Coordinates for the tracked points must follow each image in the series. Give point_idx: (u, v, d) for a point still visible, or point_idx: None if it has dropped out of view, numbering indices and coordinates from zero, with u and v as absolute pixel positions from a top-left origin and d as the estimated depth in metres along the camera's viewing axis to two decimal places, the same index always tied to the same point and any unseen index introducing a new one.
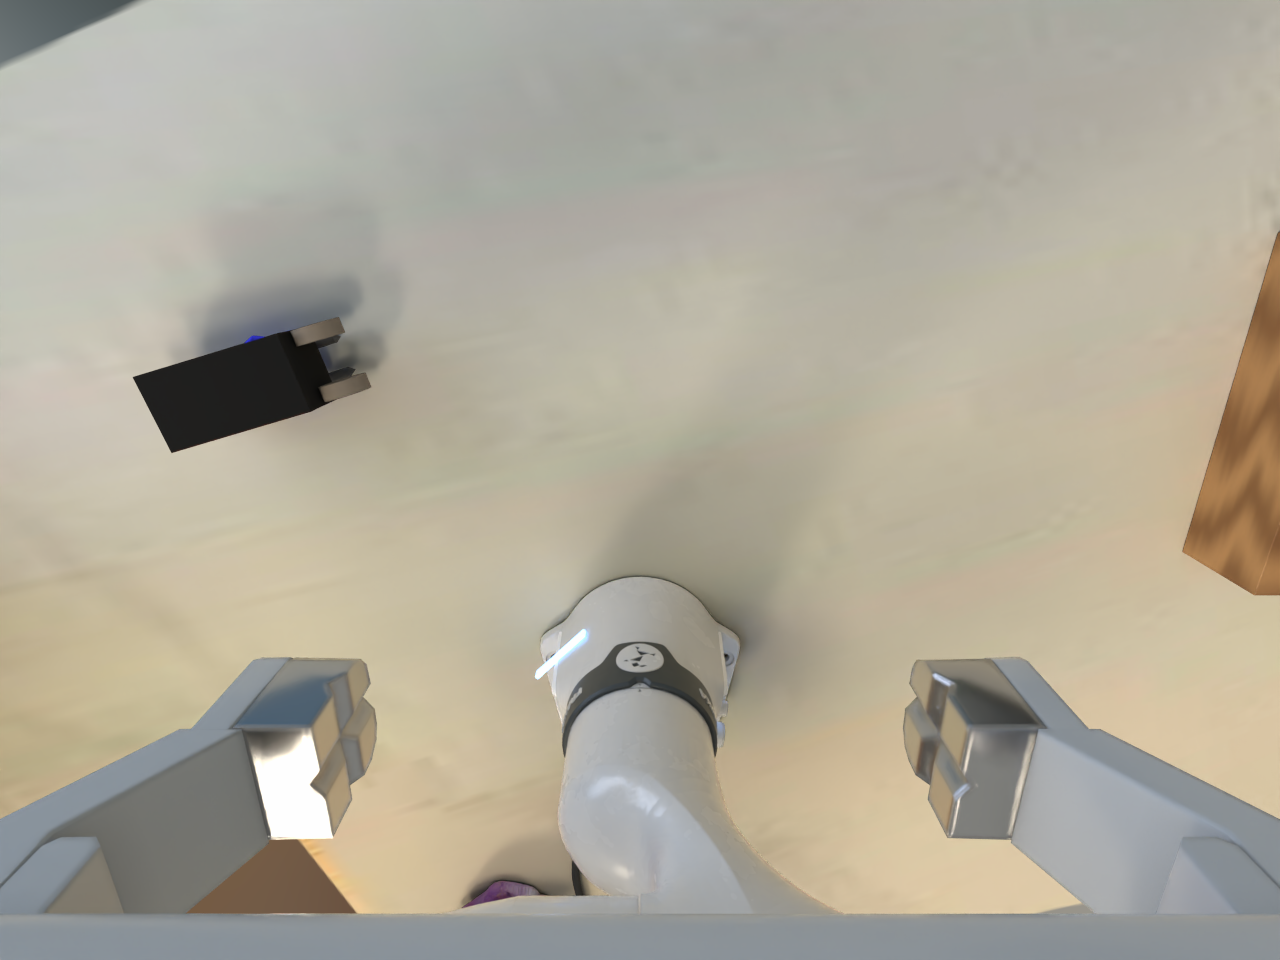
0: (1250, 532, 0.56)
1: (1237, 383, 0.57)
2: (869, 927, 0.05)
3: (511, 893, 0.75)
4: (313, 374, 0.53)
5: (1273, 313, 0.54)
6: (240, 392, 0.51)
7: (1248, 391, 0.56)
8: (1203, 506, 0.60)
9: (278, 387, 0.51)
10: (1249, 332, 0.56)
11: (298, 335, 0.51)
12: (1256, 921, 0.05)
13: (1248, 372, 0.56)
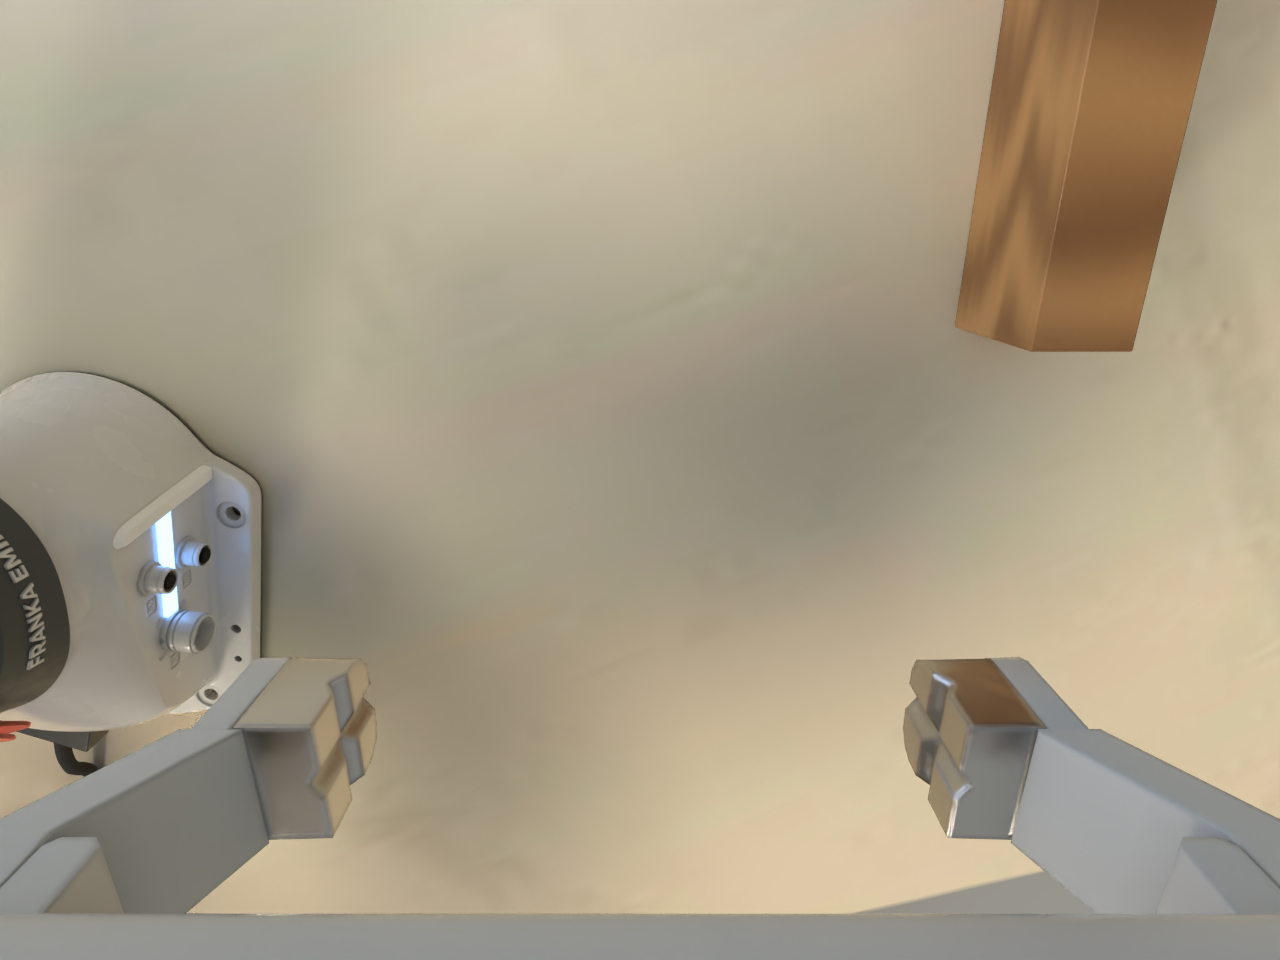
0: (1026, 239, 0.31)
1: None
2: (869, 927, 0.05)
3: None
4: None
5: None
6: None
7: None
8: (975, 235, 0.35)
9: None
10: None
11: None
12: (1256, 921, 0.05)
13: None
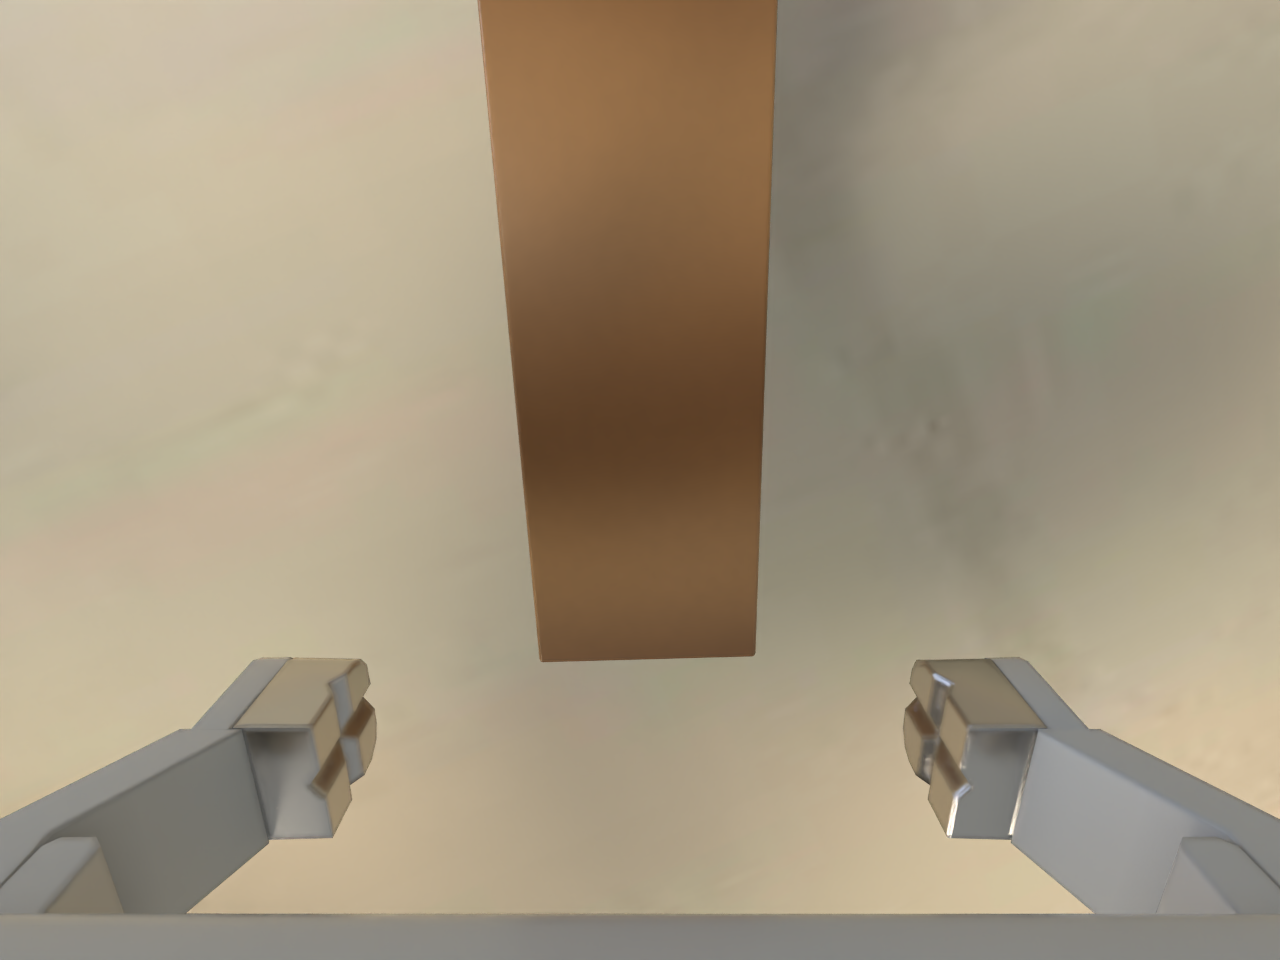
0: None
1: None
2: (869, 927, 0.05)
3: None
4: None
5: None
6: None
7: None
8: None
9: None
10: None
11: None
12: (1256, 921, 0.05)
13: None
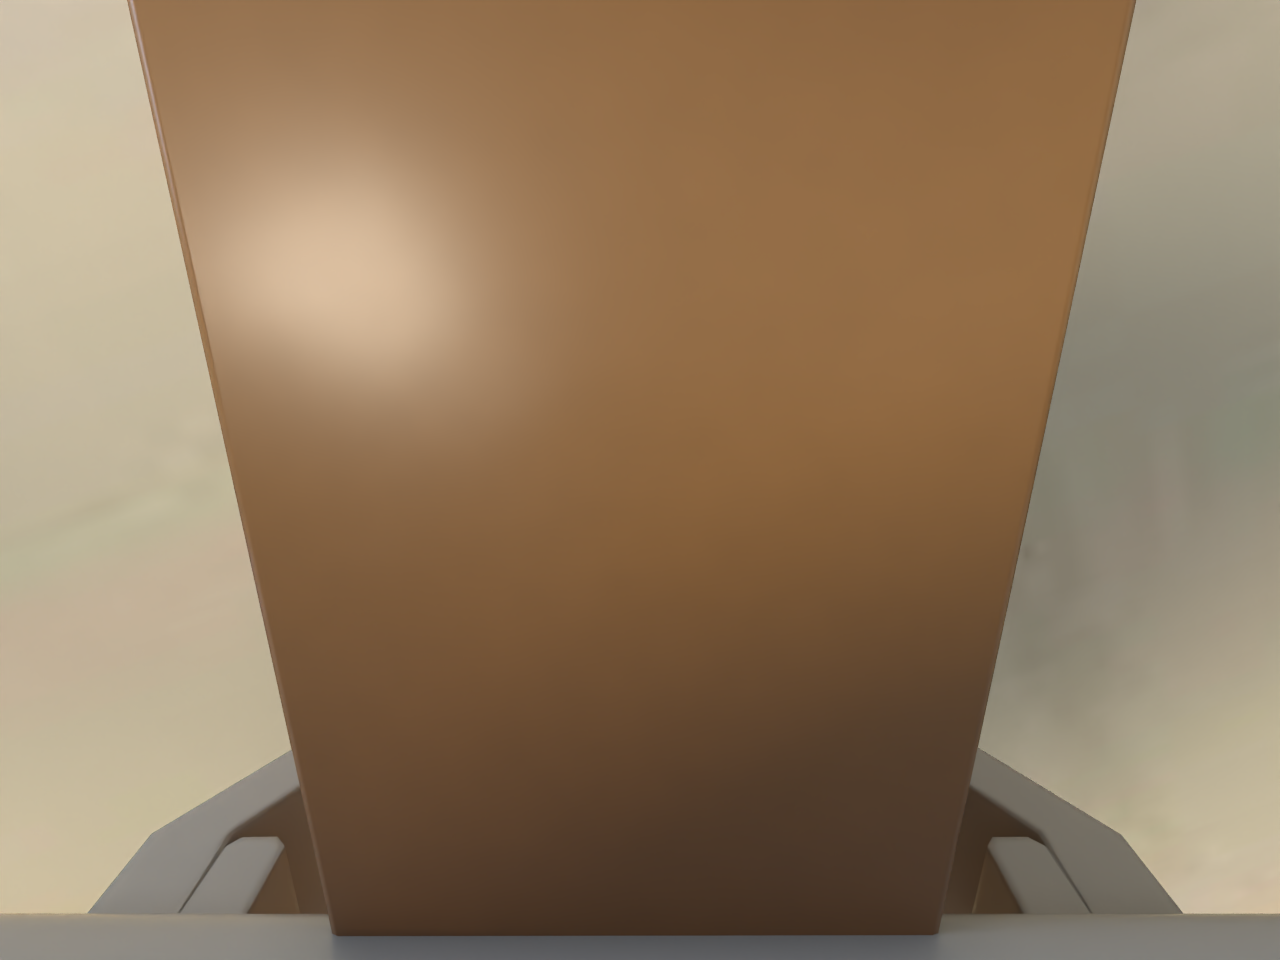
0: None
1: None
2: None
3: None
4: None
5: None
6: None
7: None
8: None
9: None
10: None
11: None
12: (1256, 921, 0.05)
13: None
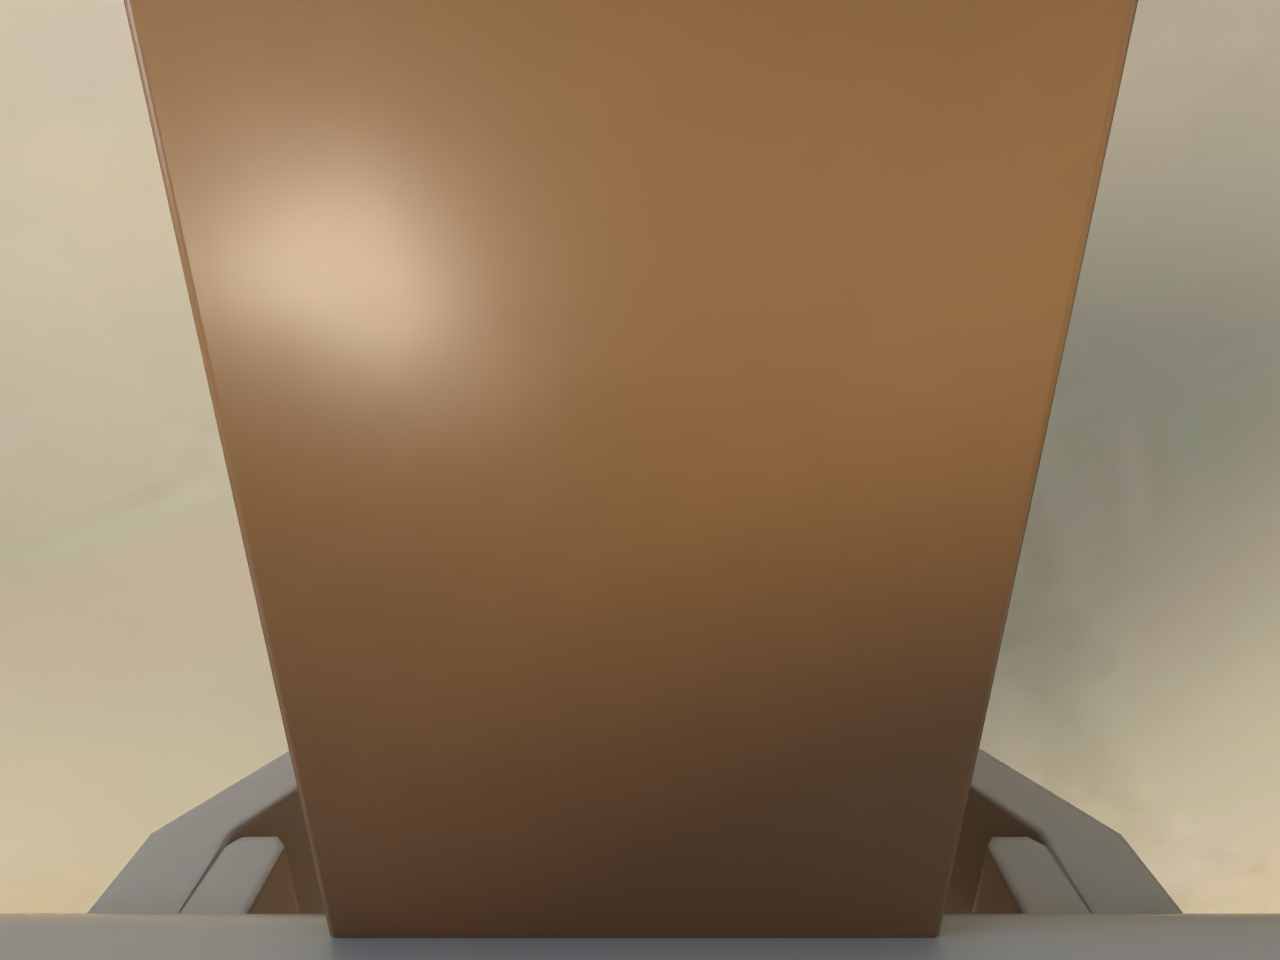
0: None
1: None
2: None
3: None
4: None
5: None
6: None
7: None
8: None
9: None
10: None
11: None
12: (1256, 921, 0.05)
13: None
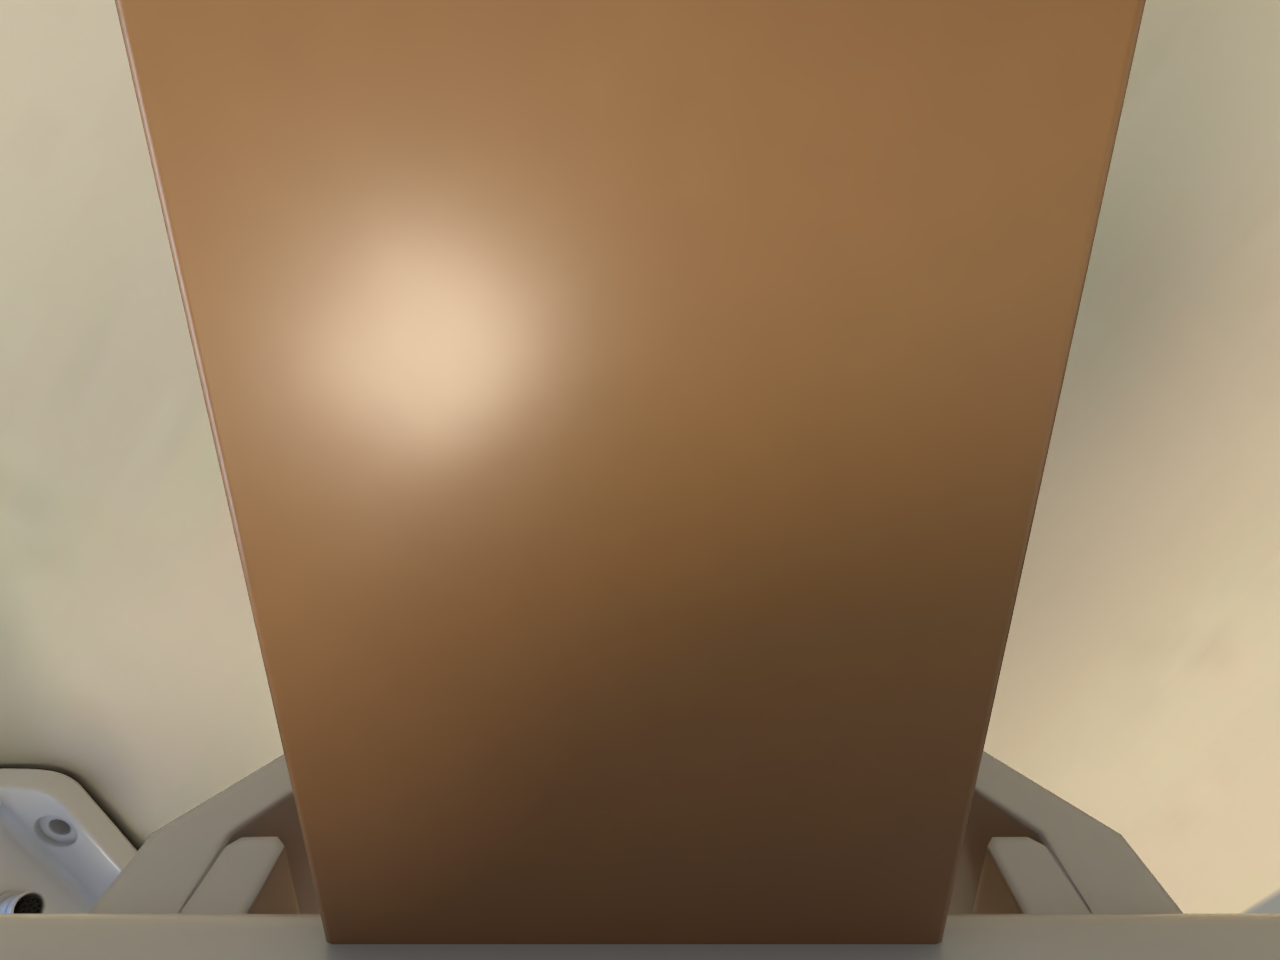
0: None
1: None
2: None
3: None
4: None
5: None
6: None
7: None
8: None
9: None
10: None
11: None
12: (1256, 921, 0.05)
13: None
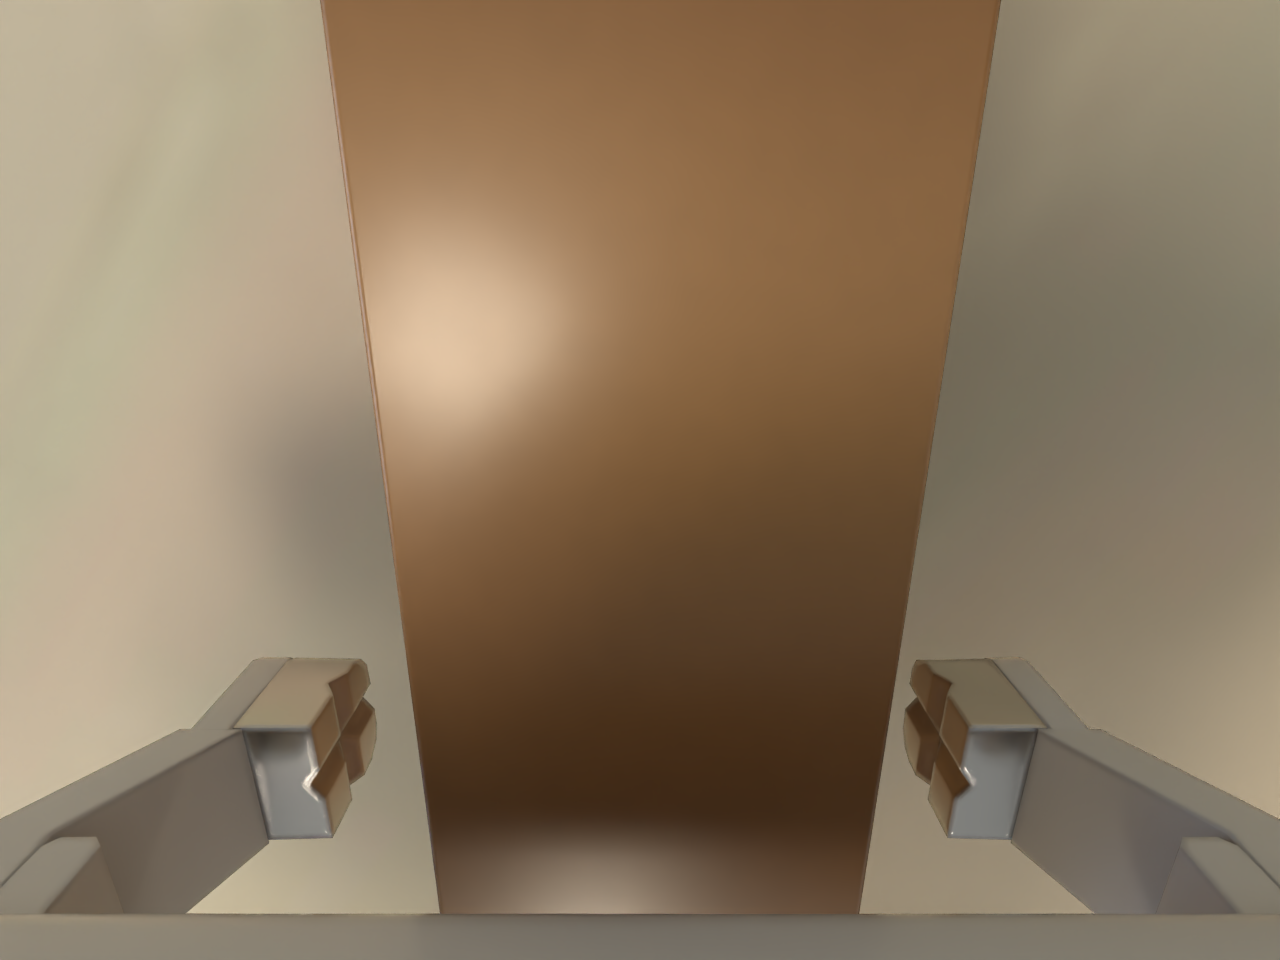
0: None
1: None
2: (869, 927, 0.05)
3: None
4: None
5: None
6: None
7: None
8: None
9: None
10: None
11: None
12: (1256, 921, 0.05)
13: None
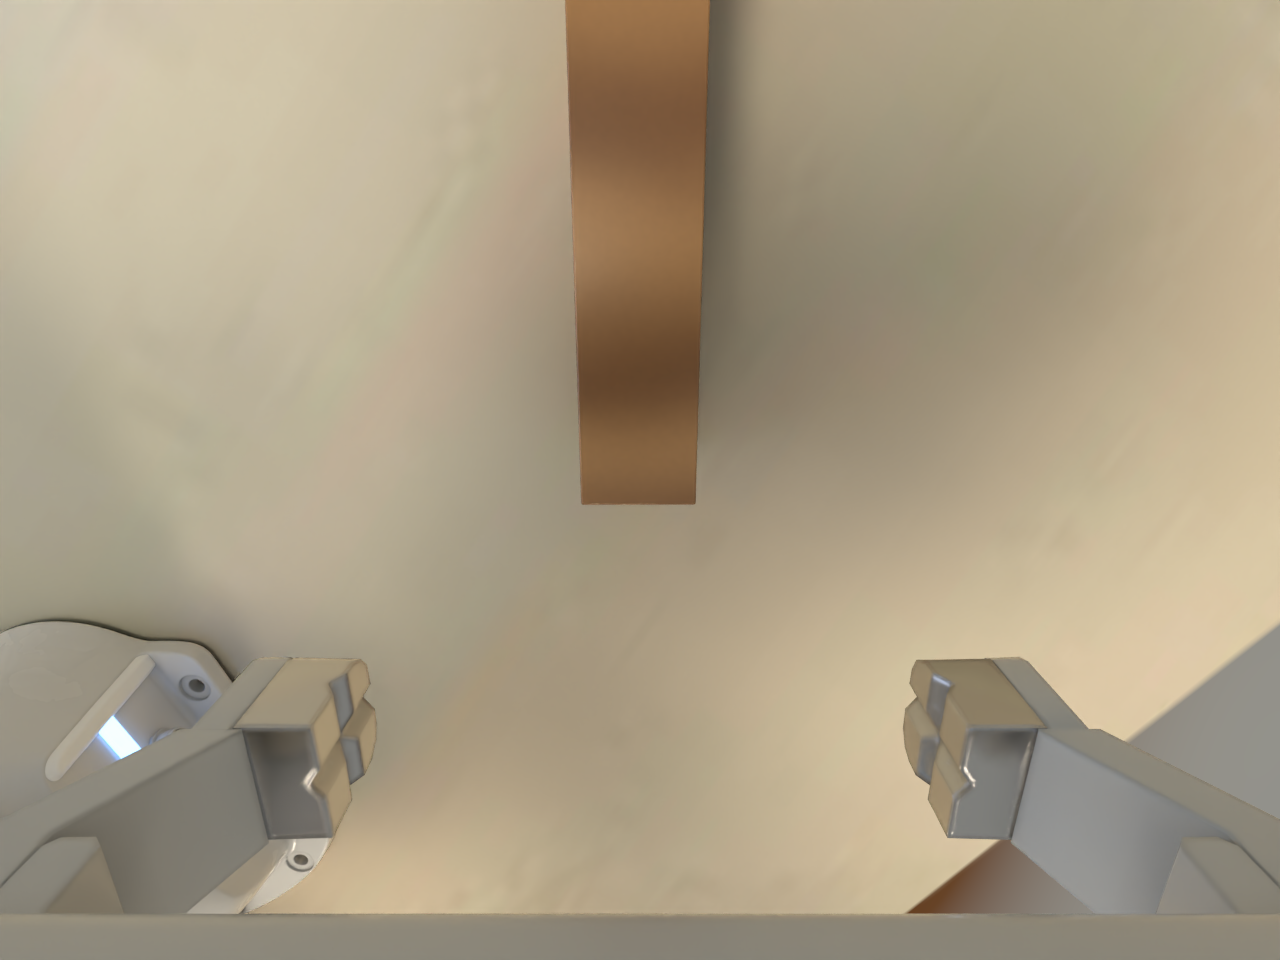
0: None
1: None
2: (869, 927, 0.05)
3: None
4: None
5: None
6: None
7: None
8: None
9: None
10: None
11: None
12: (1256, 921, 0.05)
13: None
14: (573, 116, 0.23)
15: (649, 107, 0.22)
